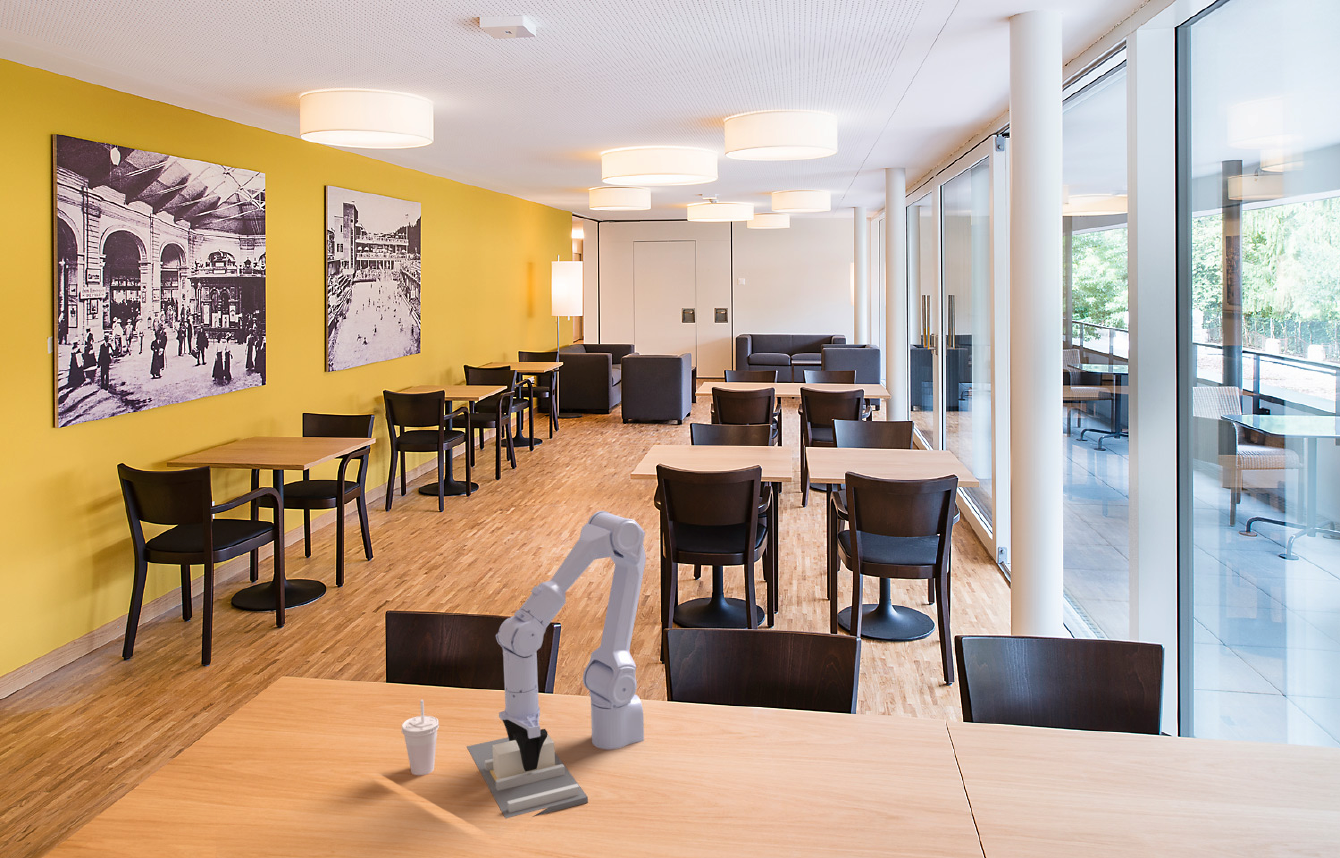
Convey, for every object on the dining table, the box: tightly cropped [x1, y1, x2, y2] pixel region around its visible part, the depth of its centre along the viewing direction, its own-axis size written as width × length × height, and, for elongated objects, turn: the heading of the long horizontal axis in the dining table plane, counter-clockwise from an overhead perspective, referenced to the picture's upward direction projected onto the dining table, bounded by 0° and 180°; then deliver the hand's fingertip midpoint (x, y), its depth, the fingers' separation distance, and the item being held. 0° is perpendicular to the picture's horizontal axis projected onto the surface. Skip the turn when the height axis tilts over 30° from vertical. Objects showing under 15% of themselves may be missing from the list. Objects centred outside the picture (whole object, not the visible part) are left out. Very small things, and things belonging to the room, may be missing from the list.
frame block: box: [492, 732, 556, 779], centre depth 160 cm, size 10×4×5 cm, turn 115°
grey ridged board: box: [466, 736, 589, 819], centre depth 161 cm, size 14×27×2 cm, turn 25°
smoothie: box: [401, 699, 440, 776], centre depth 161 cm, size 6×6×14 cm
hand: (524, 759), depth 160 cm, fingers open, 7 cm apart
